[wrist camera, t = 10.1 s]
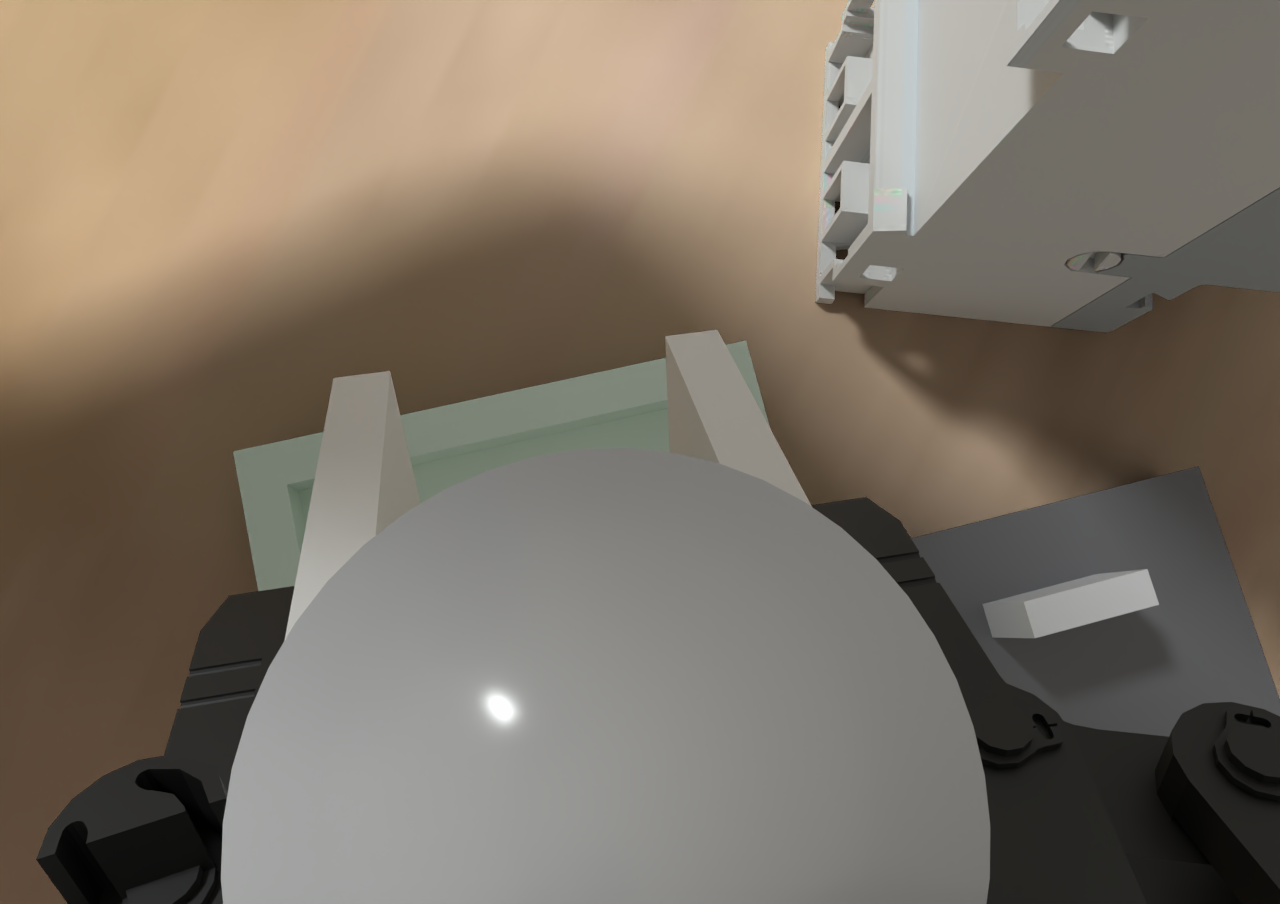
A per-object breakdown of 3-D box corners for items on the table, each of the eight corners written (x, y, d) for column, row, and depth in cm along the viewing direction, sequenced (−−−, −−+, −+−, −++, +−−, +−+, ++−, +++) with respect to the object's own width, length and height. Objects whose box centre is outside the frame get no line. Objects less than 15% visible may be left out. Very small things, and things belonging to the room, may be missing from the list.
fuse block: (919, 980, 22) (987, 1045, 19) (805, 565, 24) (848, 554, 20) (1292, 862, 23) (1418, 902, 20) (1160, 475, 25) (1257, 451, 22)
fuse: (486, 836, 16) (299, 1387, 4) (438, 606, 17) (162, 541, 5) (711, 775, 17) (1089, 1117, 5) (656, 554, 17) (871, 381, 6)
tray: (355, 982, 21) (335, 1019, 19) (260, 466, 23) (232, 451, 21) (858, 834, 23) (887, 854, 21) (730, 363, 24) (745, 340, 23)
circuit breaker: (1318, 354, 26) (2299, 4, 11) (815, 302, 25) (1187, -160, 10) (1302, 108, 28) (2157, -483, 13) (825, 49, 26) (1165, -670, 12)
